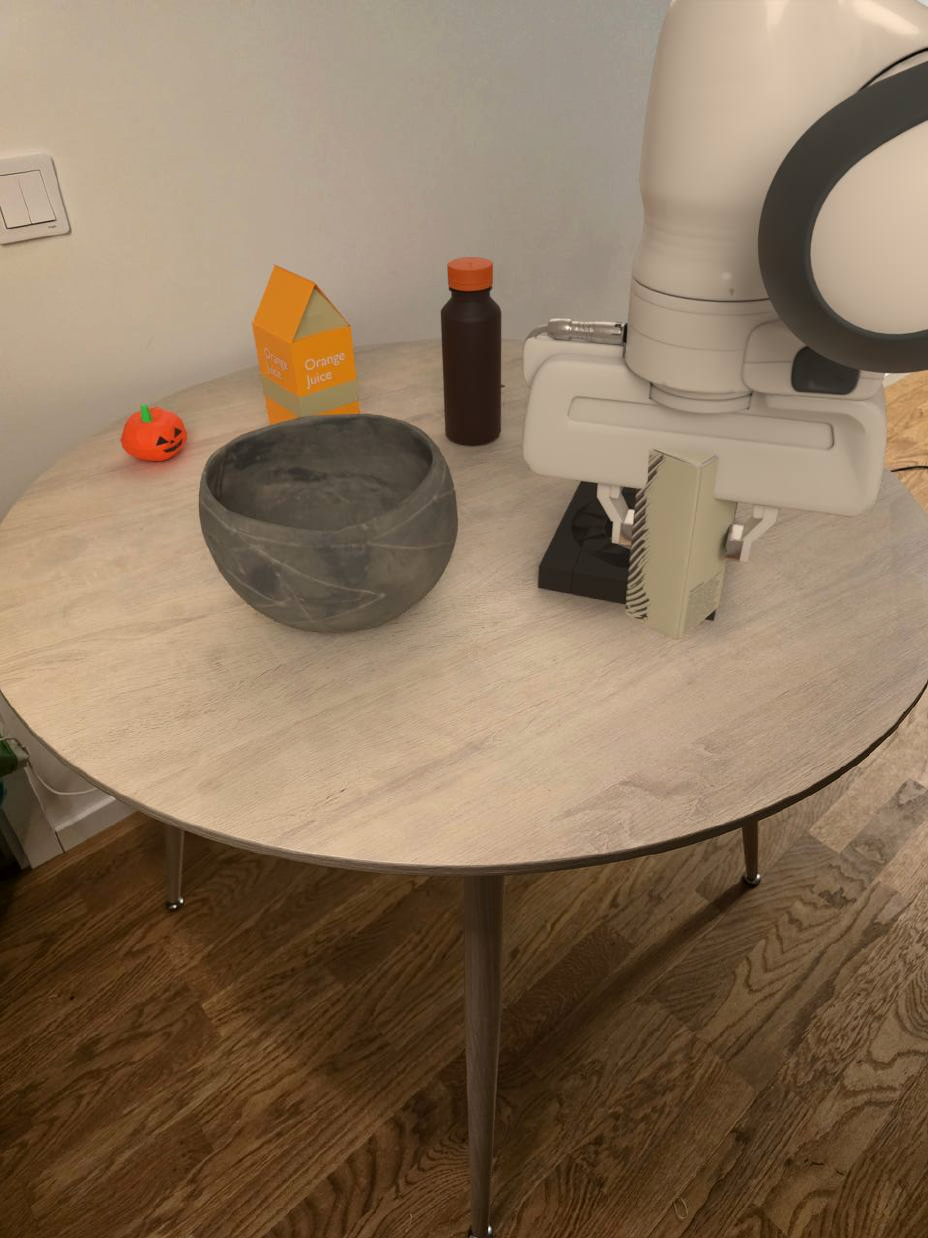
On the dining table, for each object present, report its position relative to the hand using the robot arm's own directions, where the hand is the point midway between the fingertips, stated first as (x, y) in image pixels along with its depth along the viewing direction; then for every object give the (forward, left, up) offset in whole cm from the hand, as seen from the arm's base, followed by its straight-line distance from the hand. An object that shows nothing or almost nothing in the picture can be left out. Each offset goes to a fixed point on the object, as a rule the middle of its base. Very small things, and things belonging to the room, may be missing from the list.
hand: (680, 548), depth 54 cm
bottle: (+29, -44, -17) cm, 55 cm away
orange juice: (+46, -36, -17) cm, 61 cm away
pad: (+5, -25, -17) cm, 30 cm away
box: (0, 0, -5) cm, 5 cm away
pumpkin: (+63, -28, -17) cm, 71 cm away
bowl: (+29, -8, -17) cm, 35 cm away
